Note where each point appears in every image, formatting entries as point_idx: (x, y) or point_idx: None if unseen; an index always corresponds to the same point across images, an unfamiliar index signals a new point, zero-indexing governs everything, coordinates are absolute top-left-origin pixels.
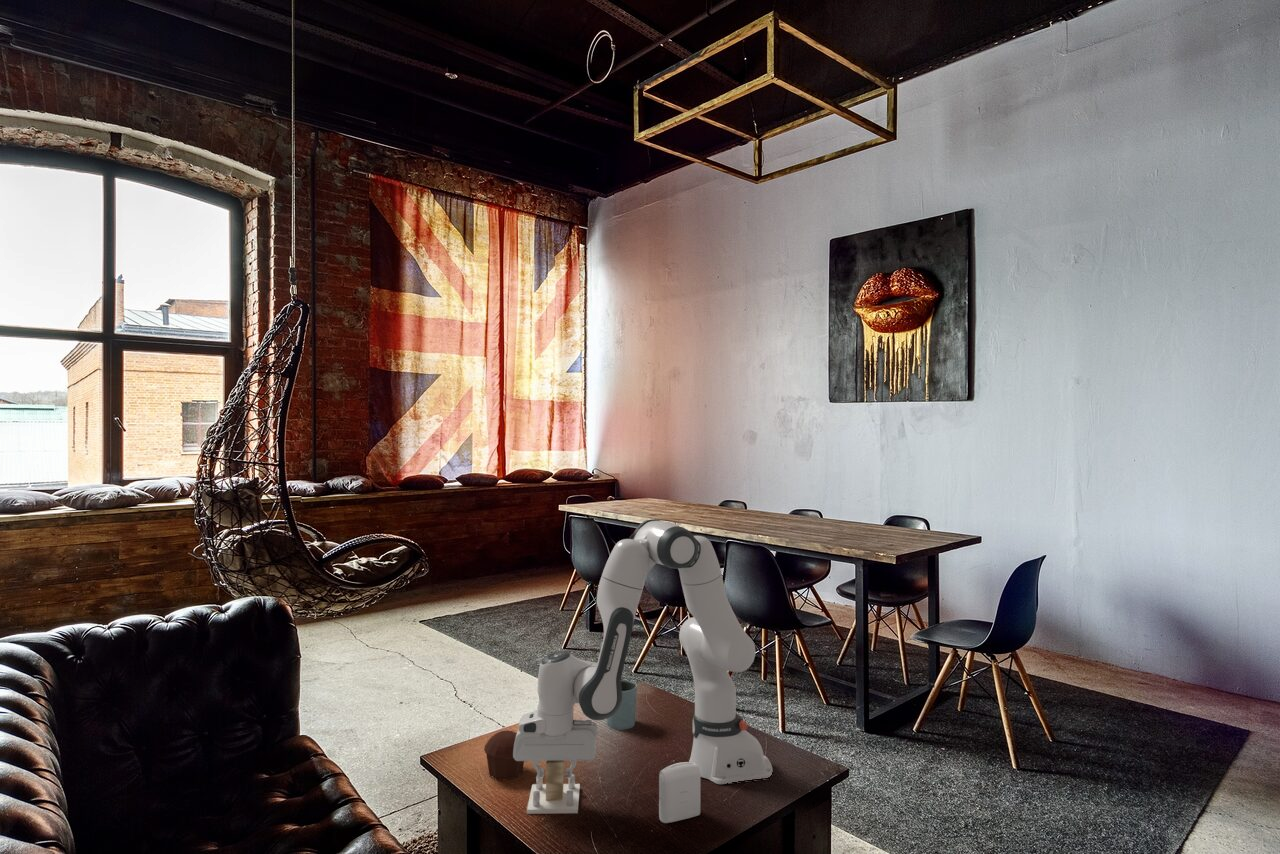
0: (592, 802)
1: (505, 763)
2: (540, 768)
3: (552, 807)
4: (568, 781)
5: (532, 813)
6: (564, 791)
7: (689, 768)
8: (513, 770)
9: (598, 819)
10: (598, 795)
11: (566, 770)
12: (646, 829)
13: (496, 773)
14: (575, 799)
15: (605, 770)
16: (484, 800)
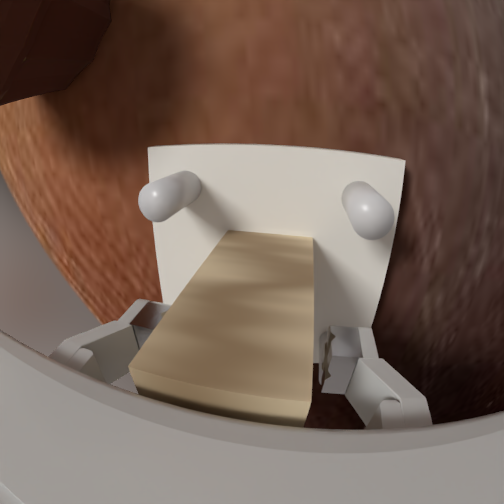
0: (427, 293)
1: (10, 100)
2: (133, 331)
3: None
4: (346, 212)
5: None
6: (319, 232)
7: None
8: (60, 70)
9: (408, 381)
10: (462, 243)
11: (327, 385)
12: (483, 403)
13: (26, 97)
14: (363, 308)
15: (495, 33)
16: (45, 233)
